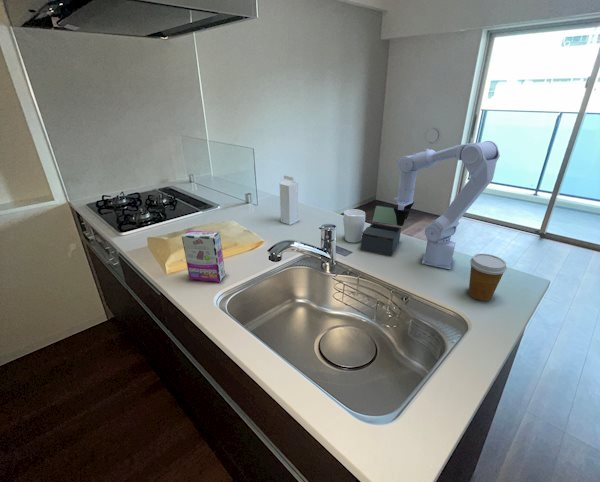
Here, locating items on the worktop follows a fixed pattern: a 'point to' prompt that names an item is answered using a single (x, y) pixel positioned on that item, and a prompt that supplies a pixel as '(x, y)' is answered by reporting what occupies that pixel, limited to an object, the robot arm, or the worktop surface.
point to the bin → (380, 239)
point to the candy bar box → (204, 255)
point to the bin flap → (385, 215)
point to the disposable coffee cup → (485, 275)
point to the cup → (353, 225)
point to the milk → (289, 200)
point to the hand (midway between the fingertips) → (402, 222)
